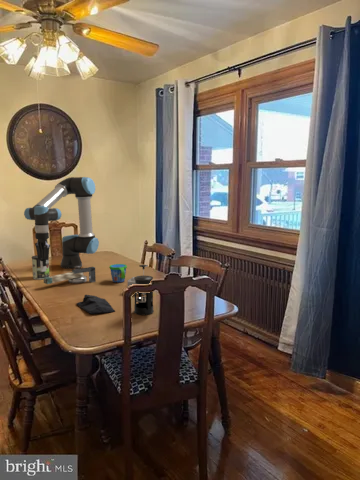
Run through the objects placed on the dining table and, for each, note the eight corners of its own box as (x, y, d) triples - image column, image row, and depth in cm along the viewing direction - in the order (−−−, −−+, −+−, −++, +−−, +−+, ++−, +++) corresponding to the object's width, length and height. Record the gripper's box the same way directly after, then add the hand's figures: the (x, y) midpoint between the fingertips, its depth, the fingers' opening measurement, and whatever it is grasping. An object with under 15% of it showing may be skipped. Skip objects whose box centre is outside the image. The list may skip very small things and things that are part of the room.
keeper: (74, 285, 225) (74, 270, 224) (72, 284, 228) (72, 269, 226) (95, 281, 233) (95, 267, 232) (93, 280, 236) (93, 266, 234)
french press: (130, 310, 182) (129, 263, 178) (148, 307, 186) (147, 261, 183) (140, 317, 172) (139, 268, 168) (158, 314, 176) (158, 266, 173)
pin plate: (79, 277, 242) (79, 274, 242) (90, 280, 235) (90, 277, 235) (64, 281, 234) (64, 277, 233) (75, 284, 227) (75, 280, 227)
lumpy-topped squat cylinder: (152, 294, 209) (152, 278, 207) (128, 295, 205) (128, 280, 204) (148, 289, 219) (148, 274, 217) (126, 290, 215) (126, 275, 214)
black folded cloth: (85, 317, 173) (84, 308, 172) (75, 304, 192) (75, 295, 191) (117, 313, 179) (117, 303, 179) (104, 300, 199) (104, 291, 198)
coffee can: (52, 276, 247) (51, 255, 244) (44, 280, 237) (43, 258, 234) (38, 275, 249) (37, 254, 246) (29, 279, 239) (28, 257, 236)
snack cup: (106, 279, 239) (106, 263, 238) (122, 277, 244) (122, 262, 242) (113, 285, 225) (113, 268, 224) (130, 283, 230) (130, 267, 228)
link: (78, 275, 238) (78, 265, 237) (84, 276, 235) (84, 266, 234) (42, 282, 219) (42, 272, 218) (48, 284, 215) (48, 273, 214)
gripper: (30, 231, 222) (31, 270, 225) (42, 233, 214) (43, 274, 217) (41, 230, 228) (43, 268, 231) (53, 232, 220) (55, 271, 223)
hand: (43, 271), depth 224 cm, fingers closed
